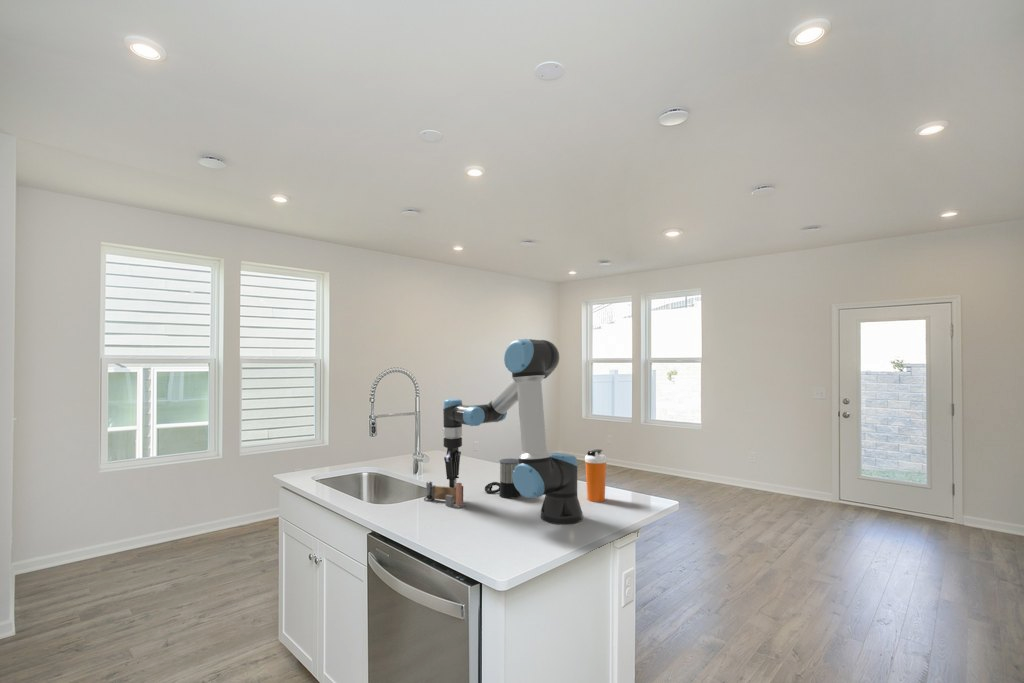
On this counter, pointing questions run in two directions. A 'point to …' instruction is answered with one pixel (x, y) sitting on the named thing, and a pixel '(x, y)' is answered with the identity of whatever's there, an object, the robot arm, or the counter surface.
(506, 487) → the corded kitchen appliance
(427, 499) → the hinge post
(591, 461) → the shaker bottle
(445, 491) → the gate
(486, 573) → the counter surface
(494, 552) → the counter surface
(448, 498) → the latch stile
